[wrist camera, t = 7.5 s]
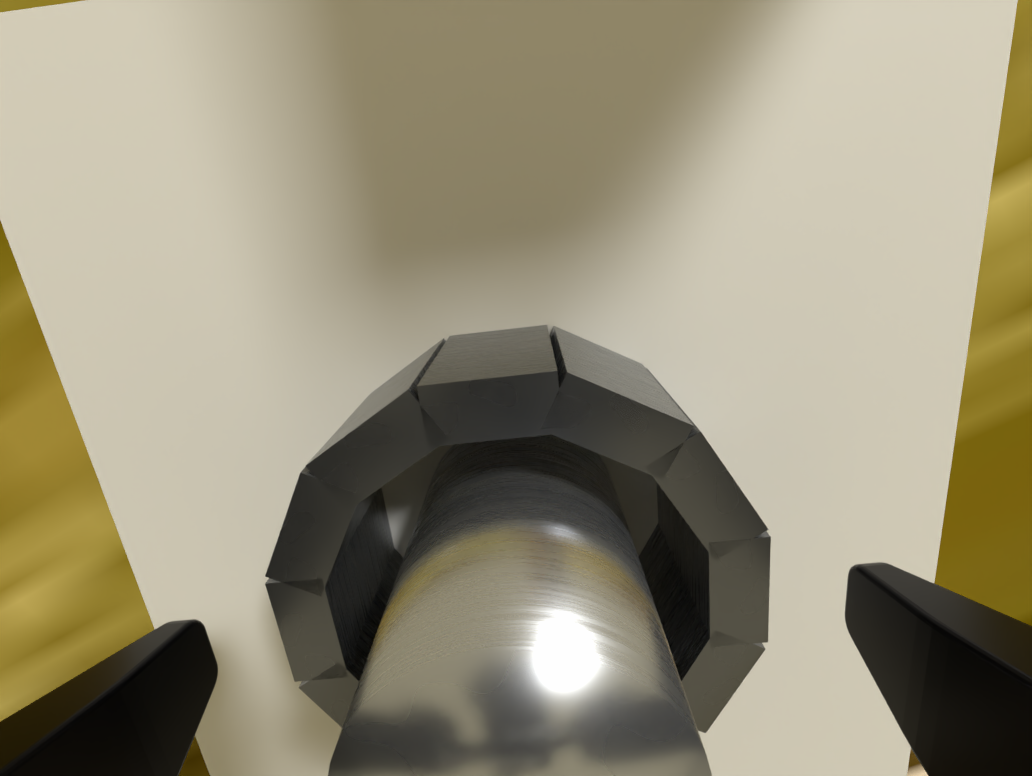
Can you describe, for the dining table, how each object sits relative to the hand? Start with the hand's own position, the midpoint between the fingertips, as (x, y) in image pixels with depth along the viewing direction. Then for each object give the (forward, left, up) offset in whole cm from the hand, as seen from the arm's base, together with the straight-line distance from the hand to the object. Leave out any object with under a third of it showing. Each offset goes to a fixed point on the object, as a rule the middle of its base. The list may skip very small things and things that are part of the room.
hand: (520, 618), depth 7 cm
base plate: (0, 0, -4) cm, 4 cm away
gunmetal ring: (0, 0, -3) cm, 3 cm away
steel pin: (0, 0, -3) cm, 3 cm away
